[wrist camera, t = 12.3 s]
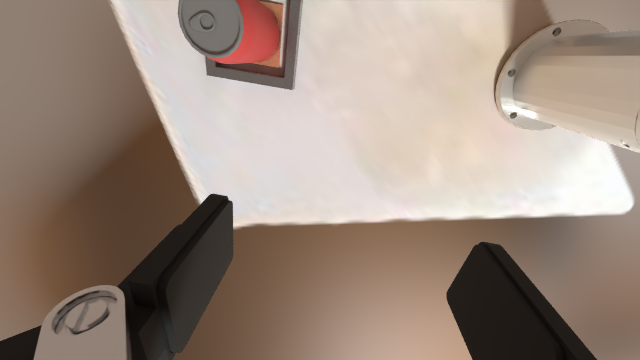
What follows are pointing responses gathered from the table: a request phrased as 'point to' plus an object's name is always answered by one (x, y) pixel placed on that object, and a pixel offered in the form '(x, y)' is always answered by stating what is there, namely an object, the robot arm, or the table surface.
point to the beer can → (229, 29)
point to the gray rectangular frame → (274, 60)
